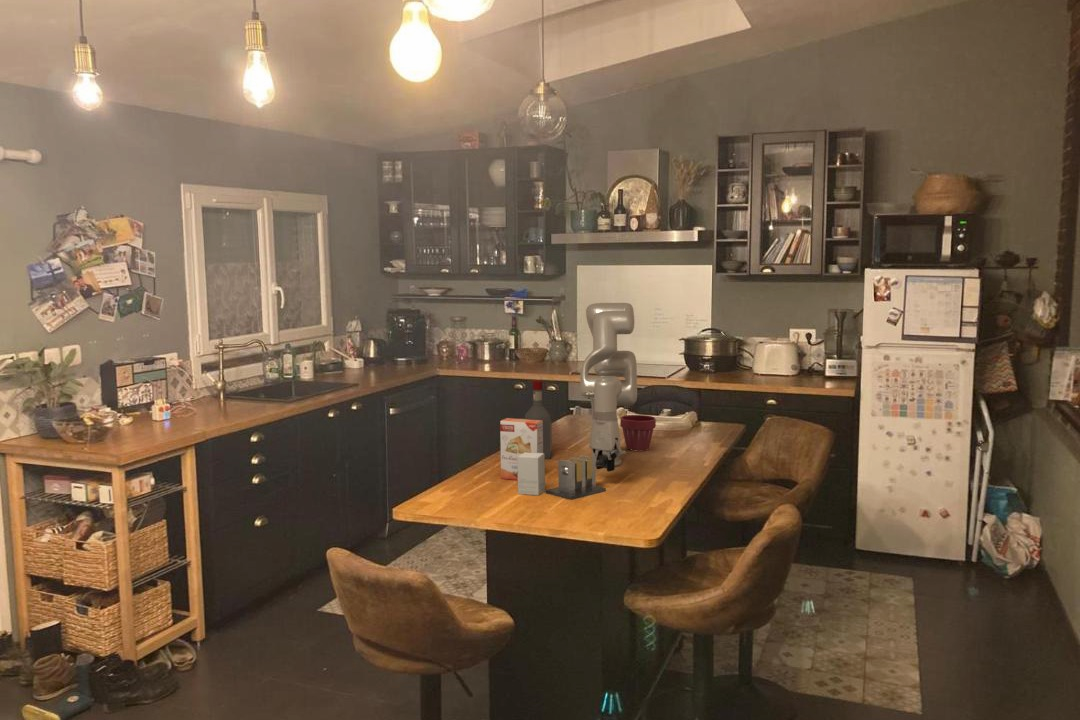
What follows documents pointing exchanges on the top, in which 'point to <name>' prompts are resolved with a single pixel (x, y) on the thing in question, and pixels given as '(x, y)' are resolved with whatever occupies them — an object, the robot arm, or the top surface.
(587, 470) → the spacer
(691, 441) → the top surface
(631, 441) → the plant pot
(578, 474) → the spacer
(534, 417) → the liquor
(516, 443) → the cracker box
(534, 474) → the supplement box
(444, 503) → the top surface
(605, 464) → the shaft
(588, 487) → the frame
